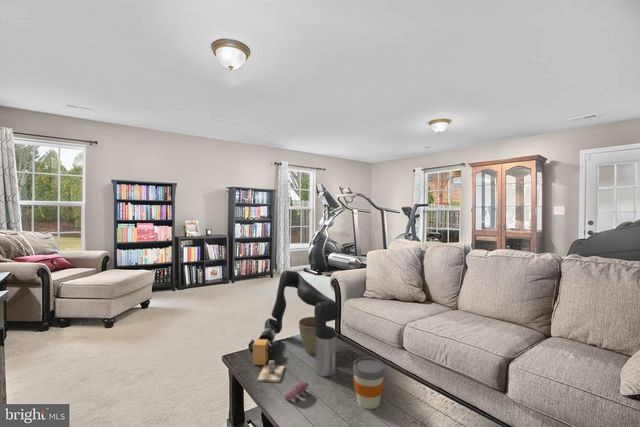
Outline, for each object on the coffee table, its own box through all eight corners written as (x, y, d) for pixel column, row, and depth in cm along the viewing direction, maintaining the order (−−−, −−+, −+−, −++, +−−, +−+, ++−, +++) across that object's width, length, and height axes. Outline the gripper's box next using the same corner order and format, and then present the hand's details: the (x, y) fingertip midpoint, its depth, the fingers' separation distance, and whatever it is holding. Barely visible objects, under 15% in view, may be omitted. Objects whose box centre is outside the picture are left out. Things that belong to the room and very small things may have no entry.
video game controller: (290, 407, 120) (296, 394, 118) (283, 398, 122) (288, 385, 120) (306, 394, 128) (312, 382, 126) (299, 386, 130) (304, 374, 128)
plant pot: (297, 345, 170) (297, 317, 170) (323, 344, 171) (324, 316, 171) (298, 358, 155) (299, 327, 155) (327, 357, 157) (327, 326, 156)
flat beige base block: (284, 367, 146) (284, 355, 146) (279, 382, 134) (279, 368, 134) (264, 367, 146) (264, 354, 146) (257, 381, 134) (257, 368, 134)
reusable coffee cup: (351, 391, 127) (351, 356, 127) (381, 392, 127) (381, 357, 127) (354, 411, 115) (354, 372, 115) (387, 412, 114) (387, 373, 114)
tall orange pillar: (267, 358, 154) (267, 339, 154) (265, 365, 148) (265, 344, 148) (256, 358, 155) (256, 339, 155) (253, 364, 149) (253, 344, 149)
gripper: (254, 330, 166) (245, 343, 150) (279, 331, 165) (273, 344, 149) (254, 343, 166) (245, 358, 150) (279, 344, 166) (273, 359, 149)
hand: (259, 351), depth 150 cm, fingers open, 8 cm apart
